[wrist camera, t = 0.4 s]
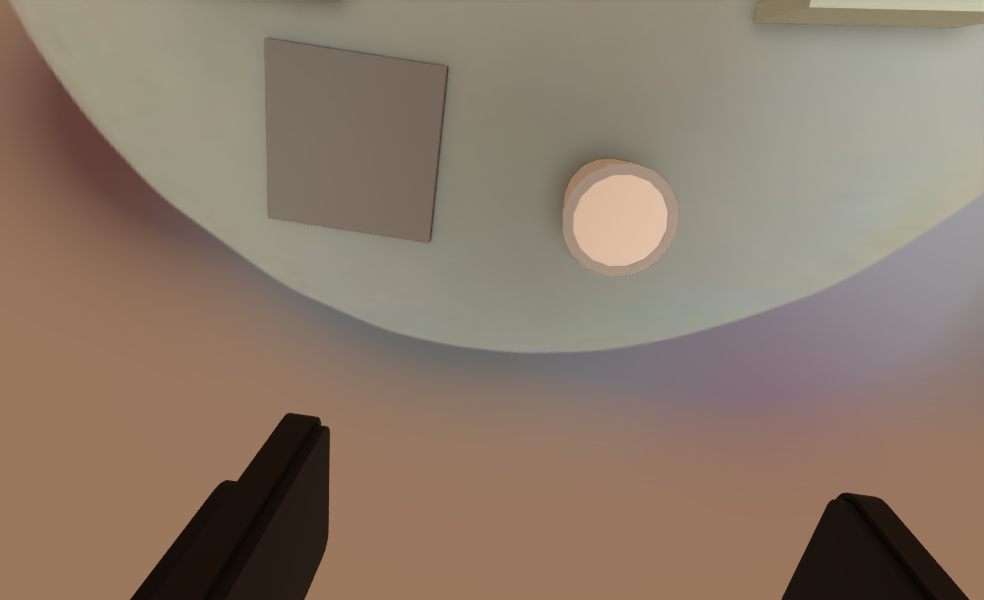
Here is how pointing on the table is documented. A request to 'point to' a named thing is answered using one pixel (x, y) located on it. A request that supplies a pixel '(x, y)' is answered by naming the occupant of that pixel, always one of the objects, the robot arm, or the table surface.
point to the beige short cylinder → (618, 217)
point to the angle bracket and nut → (873, 12)
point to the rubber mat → (352, 139)
